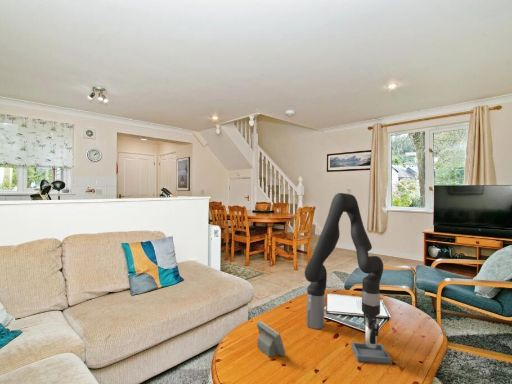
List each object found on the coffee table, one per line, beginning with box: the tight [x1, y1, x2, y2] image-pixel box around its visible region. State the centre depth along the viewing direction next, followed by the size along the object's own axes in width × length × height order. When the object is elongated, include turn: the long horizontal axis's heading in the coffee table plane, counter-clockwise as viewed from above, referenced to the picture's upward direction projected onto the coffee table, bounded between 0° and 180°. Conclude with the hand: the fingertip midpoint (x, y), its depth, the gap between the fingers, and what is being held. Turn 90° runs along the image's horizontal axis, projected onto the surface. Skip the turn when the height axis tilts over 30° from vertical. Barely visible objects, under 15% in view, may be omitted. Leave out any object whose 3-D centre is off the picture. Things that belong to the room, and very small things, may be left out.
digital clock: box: [256, 320, 286, 358], centre depth 121 cm, size 16×9×11 cm, turn 23°
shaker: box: [364, 321, 378, 348], centre depth 118 cm, size 5×5×10 cm
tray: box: [350, 341, 392, 365], centre depth 118 cm, size 14×11×2 cm
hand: (370, 340), depth 118 cm, fingers closed on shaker, 4 cm apart
